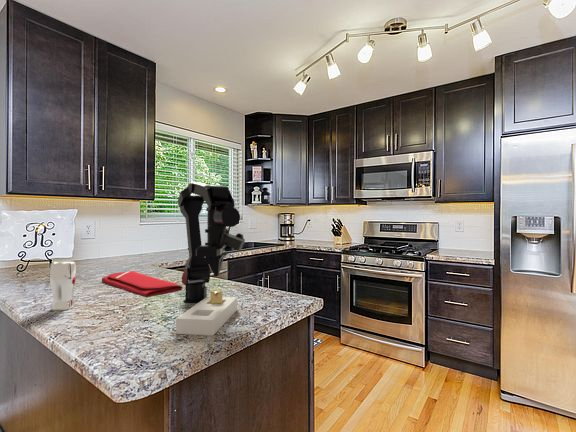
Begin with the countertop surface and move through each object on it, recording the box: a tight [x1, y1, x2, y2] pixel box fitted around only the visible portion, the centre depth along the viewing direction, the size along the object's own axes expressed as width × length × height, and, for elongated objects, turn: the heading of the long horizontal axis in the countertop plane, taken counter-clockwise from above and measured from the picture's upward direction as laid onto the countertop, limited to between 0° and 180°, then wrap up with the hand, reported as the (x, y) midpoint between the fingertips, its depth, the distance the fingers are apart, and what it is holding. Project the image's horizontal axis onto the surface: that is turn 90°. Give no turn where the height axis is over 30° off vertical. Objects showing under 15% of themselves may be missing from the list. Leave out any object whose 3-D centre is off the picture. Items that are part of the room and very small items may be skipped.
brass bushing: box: [210, 290, 223, 304], centre depth 98 cm, size 4×4×7 cm
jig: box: [175, 296, 238, 337], centre depth 92 cm, size 10×22×4 cm, turn 173°
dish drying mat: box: [101, 270, 183, 297], centre depth 137 cm, size 16×41×4 cm, turn 52°
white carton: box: [49, 260, 77, 312], centre depth 103 cm, size 7×7×15 cm
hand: (216, 275), depth 98 cm, fingers closed
